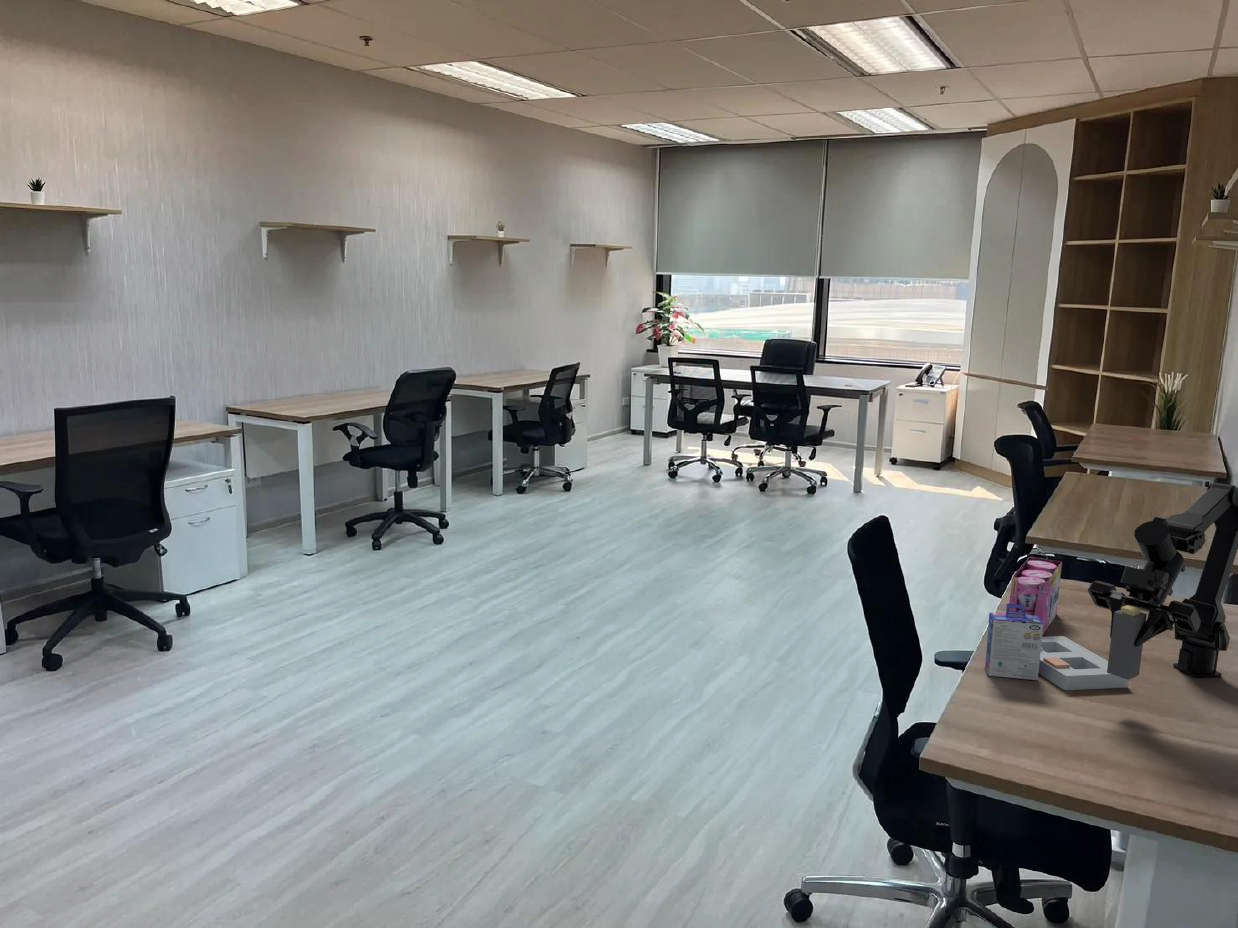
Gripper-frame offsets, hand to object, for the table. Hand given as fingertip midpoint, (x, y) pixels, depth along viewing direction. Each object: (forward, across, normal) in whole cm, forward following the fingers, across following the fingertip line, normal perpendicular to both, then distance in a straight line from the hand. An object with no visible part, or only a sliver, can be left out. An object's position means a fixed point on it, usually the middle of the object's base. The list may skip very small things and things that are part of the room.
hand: (1123, 641), depth 173 cm
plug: (+4, 0, +6) cm, 7 cm away
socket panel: (+2, -16, +18) cm, 24 cm away
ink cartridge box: (+10, -21, +9) cm, 25 cm away
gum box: (-13, -36, +33) cm, 51 cm away
